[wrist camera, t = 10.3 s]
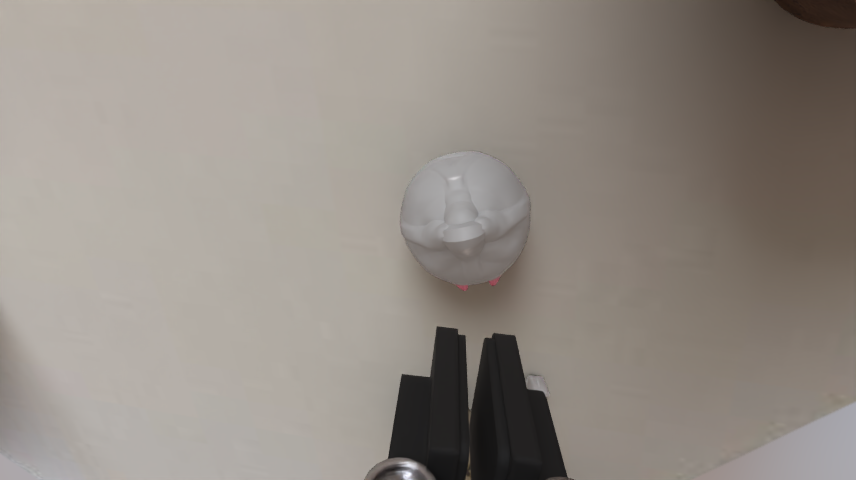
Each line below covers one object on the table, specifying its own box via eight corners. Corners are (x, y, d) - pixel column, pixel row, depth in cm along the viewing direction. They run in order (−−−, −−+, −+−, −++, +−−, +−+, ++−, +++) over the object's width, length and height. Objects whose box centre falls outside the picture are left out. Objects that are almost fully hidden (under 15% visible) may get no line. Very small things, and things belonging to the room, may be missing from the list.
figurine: (422, 268, 28) (410, 348, 20) (393, 155, 25) (367, 198, 18) (531, 248, 27) (561, 324, 19) (512, 129, 24) (538, 163, 17)
